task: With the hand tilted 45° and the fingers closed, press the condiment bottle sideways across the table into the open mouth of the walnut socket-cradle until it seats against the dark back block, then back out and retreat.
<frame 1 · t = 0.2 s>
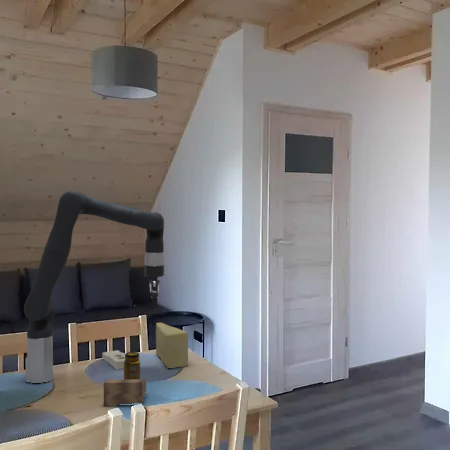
hand: (154, 305, 199), 29 cm above the table, tool pointing down, fingers open, 8 cm apart
electrical outlet: (117, 364, 218), on the table
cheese: (167, 361, 221), on the table
condiment: (131, 386, 192), on the table
cradle: (126, 398, 179), on the table
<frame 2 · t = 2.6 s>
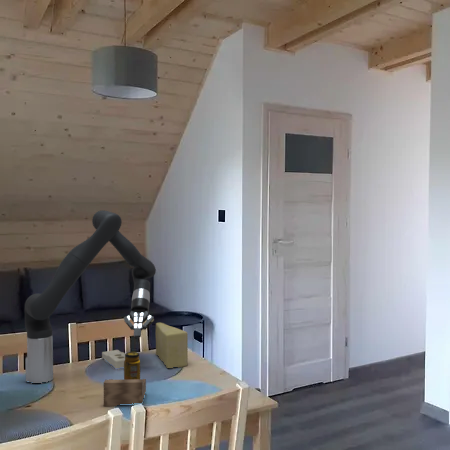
hand: (137, 337, 207), 14 cm above the table, tool tilted 45°, fingers closed
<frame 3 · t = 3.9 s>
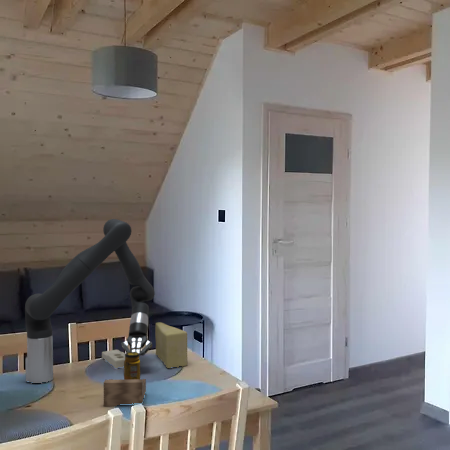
hand: (134, 364, 201), 5 cm above the table, tool tilted 45°, fingers closed
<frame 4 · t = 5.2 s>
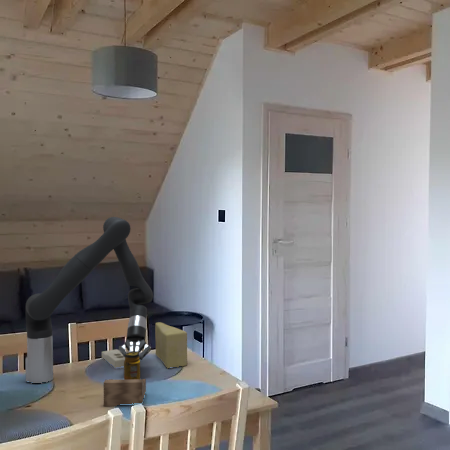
hand: (132, 369, 196), 5 cm above the table, tool tilted 45°, fingers closed
condiment: (131, 386, 191), on the table, touching gripper
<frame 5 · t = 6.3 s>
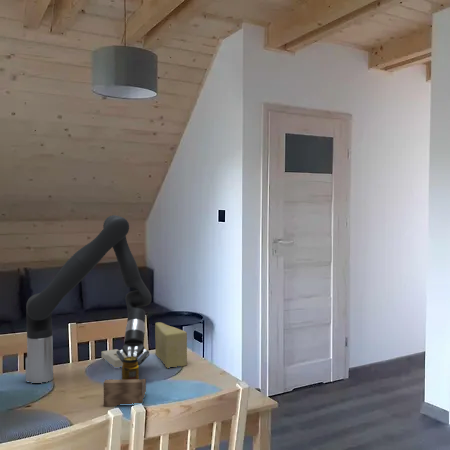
hand: (130, 374, 190), 5 cm above the table, tool tilted 45°, fingers closed
condiment: (129, 392, 185), on the table, touching gripper
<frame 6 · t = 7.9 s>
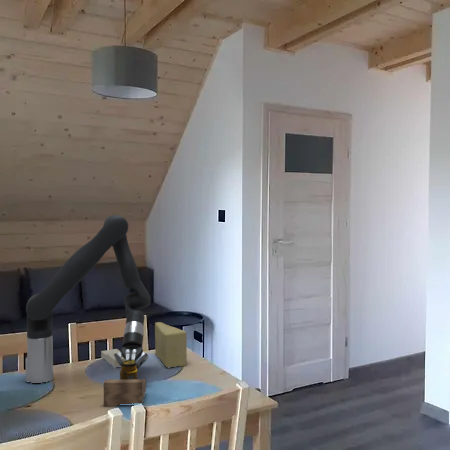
hand: (128, 378, 185), 5 cm above the table, tool tilted 45°, fingers closed
condiment: (128, 396, 181), on the table, touching gripper
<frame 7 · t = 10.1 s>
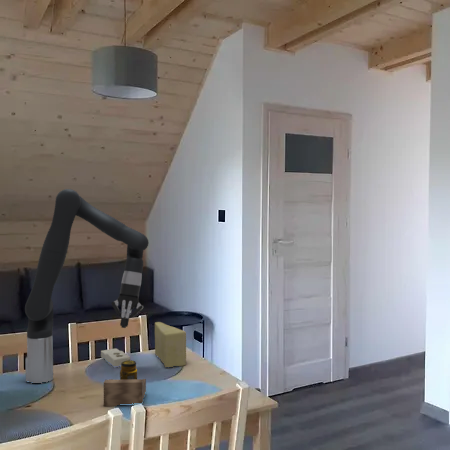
hand: (123, 327, 200), 20 cm above the table, tool pointing down, fingers closed
condiment: (128, 396, 181), on the table
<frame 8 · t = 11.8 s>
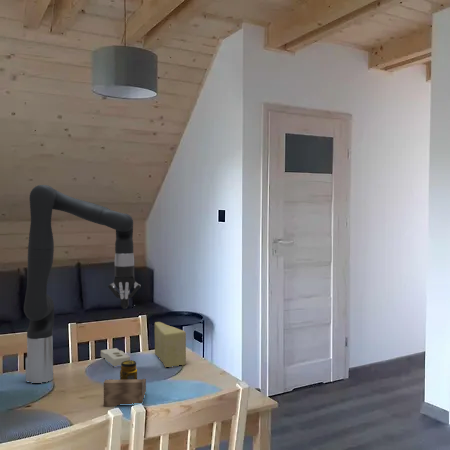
hand: (124, 308, 201), 27 cm above the table, tool pointing down, fingers closed
at the end: condiment inside the target area (2.5 cm from its centre), on the table; condiment tilted 0° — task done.
